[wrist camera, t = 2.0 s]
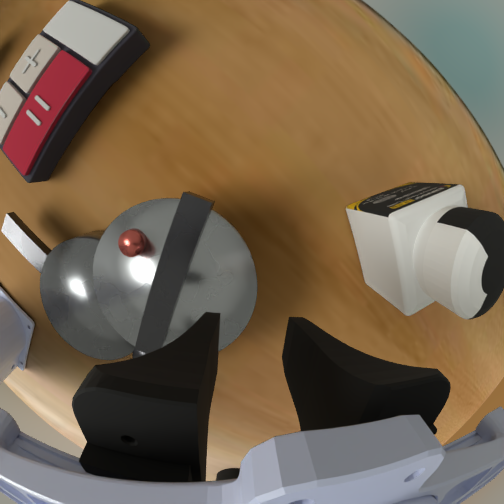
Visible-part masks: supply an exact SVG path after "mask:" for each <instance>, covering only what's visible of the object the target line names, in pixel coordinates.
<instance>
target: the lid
mask: <svg viewBox="0 0 504 504" xmlns="http://www.w3.org/2000/svg"><path fill="white" fill-rule="evenodd" d="M214 203H215V201H213V200H210V199H208V198H205V197H203V196H200V195H197V194H195V193H192V192H190V191H189V192H183V194H182V197H181V199H179V198H163V199H155V200H150V201H146V202H143V203H140V204H138V205H135V206H133V207H131V208H129V209H128V210H126V211H125V212H123V213H122V214H120V215H119V216H118V217H117V218H116V219H115V220H114V221H113V222H112V223H111V224H110V225H109V226H108V228H107V229H106V231H105V232H104V234H103V235H102V237H101V239H100V241H99V244H98V246H97V249H96V252H95V256H94V262H93V283H94V289H95V294H96V297H97V300H98V303H99V305H100V308H101V310H102V312H103V314H104V315H105V317H106V318H107V320H108V322H109V323H110V324H111V326H112V327H113V328H114V329H115V330H116V331H117V332H118V333H119V334H120V335H121V336H122V337H123V338H124V339H125V340H126V341H128V342H129V343H130V344H132V345H133V346H135V349H134V351H133V359H134V358H137V357H140V356H143V355H146V354H148V353H150V352H153V351H155V350H157V349H160V348H162V347H164V346H165V345H167V344H169V343H171V342H172V341H174V340H175V339H177V338H178V337H179V336H181V335H182V334H183V333H184V332H186V331H187V330H188V329H189V328H190V327H191V326H192V325H193V324H194V323H195V322H196V321H197V320H198V319H199V318H200V317H201V316H202V315H203V314H204V313H205V312H213V313H221V314H220V331H219V349H218V351H220V350H222V349H224V348H225V347H227V346H228V345H229V344H231V343H232V342H233V341H234V340H235V339H236V338H237V337H238V336H239V335H240V334H241V332H242V331H243V330H244V329H245V327H246V325H247V324H248V322H249V320H250V318H251V316H252V313H253V310H254V307H255V303H256V298H257V275H256V270H255V265H254V262H253V259H252V256H251V253H250V251H249V249H248V247H247V245H246V243H245V241H244V239H243V238H242V236H241V235H240V233H239V232H238V231H237V230H236V229H235V227H234V226H233V225H232V224H231V223H230V222H229V221H228V220H226V219H225V218H224V217H223V216H222V215H220V214H219V213H217V212H216V211H214V210H213V209H212V208H213V205H214Z"/></svg>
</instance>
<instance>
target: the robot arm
mask: <svg viewBox="0 0 504 504" xmlns="http://www.w3.org/2000/svg"><path fill="white" fill-rule="evenodd" d="M220 314H221V313H213V312H205V313H204V314H203V315H202V316H201V317H200V318H199V319H198V320H197V321H196V322H195V323H194V324H193V325H192V326H191V327H190V328H189V329H188V330H187V331H186V332H184V333H183V334H182V335H181V336H179V337H178V338H177V339H175V340H174V341H172V342H171V343H169V344H167V345H165V346H164V347H162V348H160V349H157V350H155V351H153V352H150V353H148V354H146V355H143V356H140V357H137V358H134V359H130V360H126V361H121V362H116V363H109V364H102V365H95V366H94V367H93V369H92V370H91V371H90V372H89V374H88V375H87V376H86V378H85V379H84V381H83V383H82V384H81V386H80V387H79V389H78V390H77V392H76V393H75V395H74V397H73V401H72V407H73V411H74V414H75V417H76V419H77V421H78V424H79V426H80V428H81V430H82V432H83V434H84V436H85V438H86V440H87V444H86V446H85V448H84V450H83V452H82V455H81V457H80V458H78V457H75V456H72V455H70V454H67V453H65V452H62V451H60V450H58V449H56V448H53V447H51V446H49V445H47V444H45V443H42V442H40V441H38V440H36V439H34V438H32V437H30V436H28V435H26V434H25V433H23V432H21V431H20V429H19V427H18V425H17V423H16V421H15V420H14V419H13V417H12V416H11V415H10V414H9V413H7V412H6V411H5V410H3V409H1V408H0V492H2V493H3V494H5V495H6V496H7V497H9V498H10V499H12V500H13V501H15V502H16V503H18V504H460V503H461V502H463V501H464V500H466V499H467V498H469V497H470V496H471V495H473V494H474V493H475V492H477V491H478V490H479V489H481V488H482V487H484V486H485V485H486V484H487V483H489V482H490V481H491V480H493V479H494V478H495V477H496V476H497V475H498V474H499V473H500V472H501V471H502V470H503V469H504V409H502V407H498V408H497V409H495V410H493V411H492V412H490V413H488V414H487V415H486V416H485V417H484V418H483V419H482V420H481V421H480V423H479V424H478V426H477V427H476V430H475V431H473V432H471V433H469V434H467V435H465V436H463V437H461V438H459V439H457V440H455V441H453V442H451V443H449V444H447V445H445V446H442V445H441V444H440V442H439V441H438V440H437V438H436V437H435V436H434V434H436V432H437V428H436V427H435V426H434V424H433V423H434V422H435V420H436V418H437V417H438V415H439V414H440V412H441V410H442V409H443V407H444V405H445V403H446V401H447V399H448V397H449V393H450V382H449V381H448V379H447V378H446V377H445V376H444V375H443V374H442V373H441V372H440V371H439V370H438V369H432V368H421V367H412V366H407V365H402V364H397V363H393V362H389V361H385V360H382V359H379V358H376V357H373V356H370V355H368V354H365V353H363V352H361V351H358V350H356V349H354V348H352V347H350V346H348V345H346V344H345V343H343V342H341V341H339V340H338V339H336V338H334V337H333V336H331V335H330V334H328V333H326V332H325V331H323V330H322V329H320V328H319V327H318V326H316V325H315V324H313V323H312V322H310V321H308V320H307V319H305V318H303V317H289V320H288V326H287V332H286V337H285V343H284V349H283V354H282V360H283V367H284V373H285V377H286V380H287V383H288V386H289V390H290V393H291V396H292V399H293V402H294V405H295V408H296V411H297V414H298V418H299V422H300V428H301V431H299V432H295V433H290V434H285V435H279V436H275V437H273V438H271V439H269V440H267V441H265V442H263V443H261V444H259V445H257V446H255V447H253V448H251V449H250V451H249V452H248V453H247V455H246V456H245V457H244V459H243V460H242V461H241V466H240V473H239V476H238V478H237V479H229V480H219V481H206V457H207V437H208V421H209V413H210V407H211V402H212V396H213V391H214V386H215V381H216V375H217V365H218V349H219V331H220ZM34 326H35V324H34V321H33V320H32V319H31V318H30V317H29V316H28V315H27V314H26V313H25V312H24V311H23V310H22V309H21V308H20V307H19V306H18V305H17V304H16V303H15V302H14V301H13V300H12V299H11V298H10V296H9V295H8V294H7V293H6V292H5V291H4V290H3V289H2V287H1V286H0V384H1V383H2V382H3V381H4V380H5V379H6V377H7V376H8V375H9V374H10V373H11V372H12V371H13V370H14V369H15V368H16V367H17V366H18V367H19V368H20V369H21V370H24V369H25V365H26V360H27V355H28V351H29V346H30V342H31V338H32V334H33V330H34Z"/></svg>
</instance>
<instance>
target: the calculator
mask: <svg viewBox="0 0 504 504" xmlns="http://www.w3.org/2000/svg"><path fill="white" fill-rule="evenodd" d="M149 46H150V44H149V43H148V41H147V40H146V39H145V37H144V36H143V35H142V33H141V32H140V31H139V29H138V28H137V27H136V26H134V25H132V24H130V23H128V22H126V21H124V20H122V19H120V18H118V17H116V16H114V15H112V14H110V13H108V12H106V11H104V10H102V9H99V8H97V7H95V6H93V5H90V4H88V3H85V2H83V1H81V0H69V1H68V2H67V3H66V4H65V5H64V6H63V7H62V8H61V9H60V10H59V11H58V12H57V14H56V15H55V16H54V17H53V18H52V19H51V20H50V22H49V23H48V24H47V25H46V26H45V28H44V29H43V31H42V32H41V33H40V34H38V35H37V36H36V37H35V38H34V40H33V41H32V42H31V44H30V45H29V46H28V48H27V49H26V51H25V52H24V54H23V55H22V56H21V58H20V59H19V61H18V62H17V64H16V66H15V67H14V69H13V70H12V72H11V74H10V78H9V80H8V81H7V82H5V84H4V85H3V87H2V89H1V91H0V149H1V150H2V151H3V153H4V154H5V155H6V157H7V158H8V159H9V160H10V162H11V163H12V164H13V166H14V167H15V168H16V169H17V171H18V172H19V173H20V174H21V176H22V177H23V178H24V179H25V180H26V181H27V182H28V183H32V182H42V181H47V180H48V179H49V177H50V175H51V174H52V172H53V170H54V168H55V166H56V165H57V163H58V161H59V160H60V158H61V156H62V155H63V153H64V151H65V150H66V148H67V147H68V145H69V144H70V142H71V140H72V139H73V137H74V136H75V134H76V133H77V131H78V130H79V128H80V127H81V125H82V124H83V122H84V121H85V119H86V118H87V117H88V115H89V114H90V112H91V111H92V110H93V108H94V107H95V105H96V104H97V103H98V101H99V100H100V99H101V97H102V96H103V95H104V94H105V92H106V91H107V90H108V89H109V87H110V86H111V85H112V84H113V83H114V82H116V81H117V80H118V79H119V78H120V77H121V76H122V75H123V74H124V73H125V72H126V70H127V69H128V68H129V67H130V66H131V65H132V64H133V63H134V62H135V61H136V60H137V59H138V58H139V57H140V56H141V55H142V54H143V53H144V52H145V51H146V50H147V49H148V48H149Z"/></svg>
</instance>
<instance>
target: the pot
mask: <svg viewBox="0 0 504 504" xmlns="http://www.w3.org/2000/svg"><path fill="white" fill-rule="evenodd" d="M1 231H2V232H3V233H4V235H5V236H6V237H7V238H8V239H9V240H10V241H11V243H12V244H13V245H14V246H15V247H16V248H17V249H18V250H19V251H20V252H21V254H22V255H23V256H24V257H25V258H26V259H27V260H28V261H29V262H30V263H31V264H32V265H33V266H34V267H35V268H36V269H37V270H38V271H39V272H40V273H41V277H40V292H41V298H42V302H43V306H44V309H45V311H46V314H47V316H48V318H49V320H50V322H51V324H52V325H53V327H54V328H55V330H56V331H57V332H58V333H59V335H60V336H61V337H62V338H63V339H64V340H65V341H66V342H67V343H68V344H69V345H71V346H72V347H73V348H75V349H76V350H78V351H80V352H81V353H83V354H85V355H87V356H90V357H93V358H97V359H102V360H115V359H119V358H123V357H125V356H127V355H129V354H131V353H132V352H133V351H134V349H135V346H133V345H132V344H130V343H129V342H128V341H126V340H125V339H124V338H123V337H122V336H121V335H120V334H119V333H118V332H117V331H116V330H115V329H114V328H113V327H112V326H111V324H110V323H109V322H108V320H107V318H106V317H105V315H104V314H103V312H102V310H101V308H100V305H99V303H98V300H97V297H96V294H95V289H94V283H93V262H94V256H95V252H96V249H97V246H98V244H99V241H100V239H101V237H102V235H103V234H104V232H105V231H92V232H89V233H86V234H83V235H80V236H77V237H75V238H72V239H69V240H67V241H64V242H62V243H61V244H59V245H57V246H56V247H55V248H54V249H53V250H51V249H49V248H48V247H47V246H46V245H45V244H44V243H43V242H42V241H41V240H40V239H39V238H38V237H37V236H36V235H35V234H34V233H33V232H32V231H31V230H30V229H29V228H28V227H27V226H26V225H25V224H24V222H23V221H22V220H21V219H20V218H19V217H18V216H17V215H16V214H15V213H14V212H11V213H7V214H6V217H5V220H4V224H3V227H2V230H1Z"/></svg>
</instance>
